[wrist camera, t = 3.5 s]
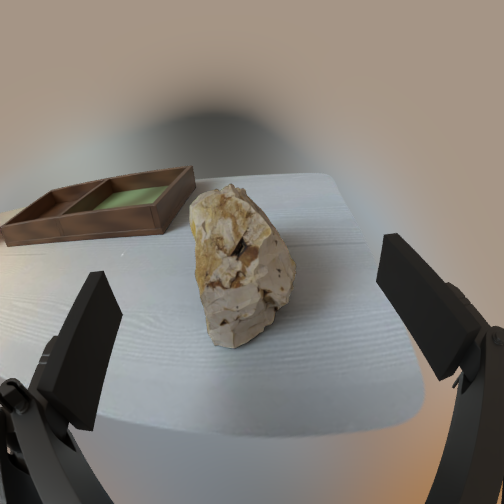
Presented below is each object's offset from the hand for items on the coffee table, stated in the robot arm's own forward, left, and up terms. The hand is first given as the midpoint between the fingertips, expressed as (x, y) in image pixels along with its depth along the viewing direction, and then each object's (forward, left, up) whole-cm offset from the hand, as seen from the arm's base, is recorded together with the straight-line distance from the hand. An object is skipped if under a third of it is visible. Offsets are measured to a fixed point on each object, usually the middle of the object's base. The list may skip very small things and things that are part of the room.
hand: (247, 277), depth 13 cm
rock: (0, -8, -7) cm, 11 cm away
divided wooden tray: (+23, -31, -7) cm, 40 cm away
